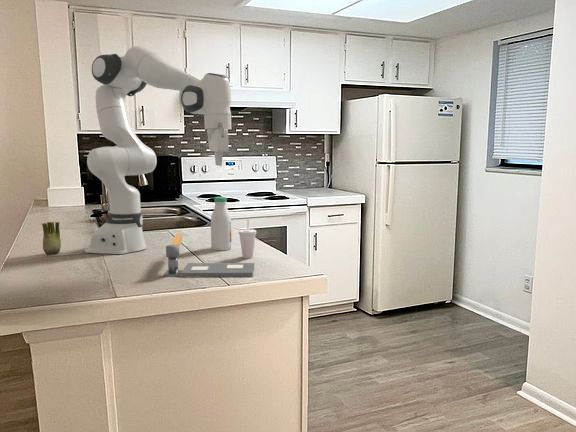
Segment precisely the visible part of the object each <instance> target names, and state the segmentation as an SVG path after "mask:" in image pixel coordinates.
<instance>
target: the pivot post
mask: <svg viewBox="0 0 576 432" xmlns="http://www.w3.org/2000/svg"><path fill="white" fill-rule="evenodd" d="M167 264H168V265H167V267H168V269H166V271H165V272H164V273H163V277H181V272H182V271H183V270H184V269H179V257H174V258H169V257H167Z"/></svg>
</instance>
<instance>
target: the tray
mask: <svg viewBox="0 0 576 432" xmlns="http://www.w3.org/2000/svg"><path fill="white" fill-rule="evenodd" d="M182 270H183V271H182V272H181V275H180V277H181V278H183V277H184V278H185V277H186V276H187V277H188V276H196V277H201V278H203V277H208V278H209V277H212V278H213V277H214V276H217V278H218V277H221V278H222V277H226V278H227V277H230V278H231V277H253V276H254V271H255V262H192V263H191V262H188V263H187V264H186V265H185V267H184V268H183V269H182ZM187 277H186V278H187Z"/></svg>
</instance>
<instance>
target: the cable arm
mask: <svg viewBox="0 0 576 432" xmlns="http://www.w3.org/2000/svg"><path fill="white" fill-rule="evenodd" d="M182 242H183V239H182V233H175V236H174V237H173V239H172V240H171V243H170V244H168V245H166V246H165V257H166V258H168V257H169V258H174V257H178V258H179V257H180V247H181V244H182Z"/></svg>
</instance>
